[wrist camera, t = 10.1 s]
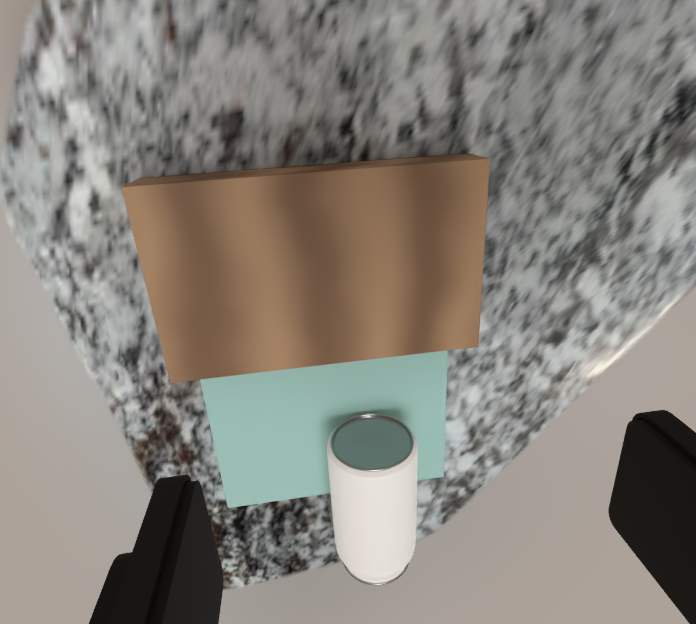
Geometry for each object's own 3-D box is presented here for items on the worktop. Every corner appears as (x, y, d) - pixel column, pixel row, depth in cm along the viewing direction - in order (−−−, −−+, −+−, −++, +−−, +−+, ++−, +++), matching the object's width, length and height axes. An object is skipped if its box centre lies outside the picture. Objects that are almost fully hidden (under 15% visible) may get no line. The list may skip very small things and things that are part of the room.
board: (467, 153, 29) (490, 158, 26) (459, 324, 34) (478, 346, 31) (139, 178, 27) (121, 187, 24) (181, 355, 32) (170, 383, 29)
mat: (446, 326, 34) (448, 328, 34) (442, 473, 40) (443, 476, 39) (196, 354, 32) (195, 357, 32) (228, 503, 38) (228, 507, 38)
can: (437, 442, 32) (432, 556, 38) (376, 399, 37) (379, 506, 42) (366, 490, 29) (371, 608, 34) (307, 436, 33) (320, 548, 39)
